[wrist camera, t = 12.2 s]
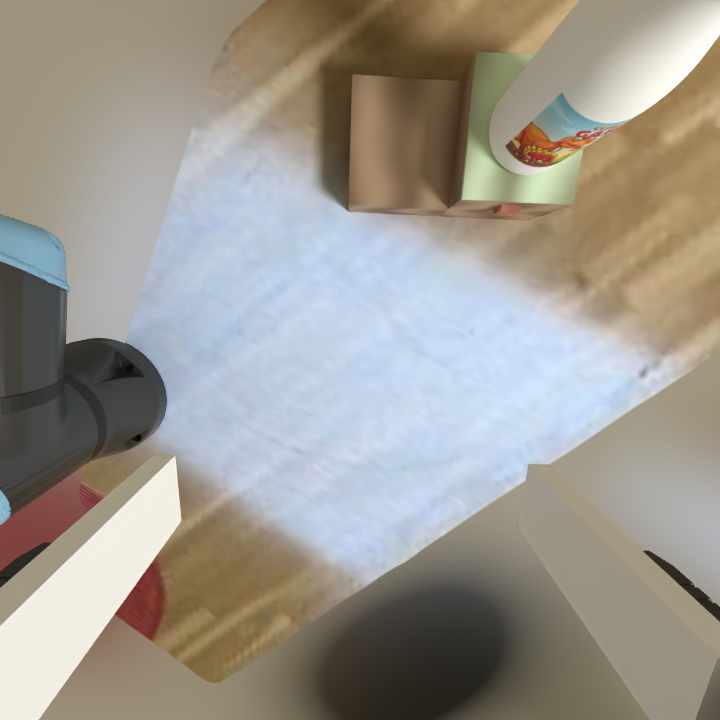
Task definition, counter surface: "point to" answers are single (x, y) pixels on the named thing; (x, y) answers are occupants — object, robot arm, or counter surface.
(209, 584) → the counter surface
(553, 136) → the milk bottle
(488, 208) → the plinth
